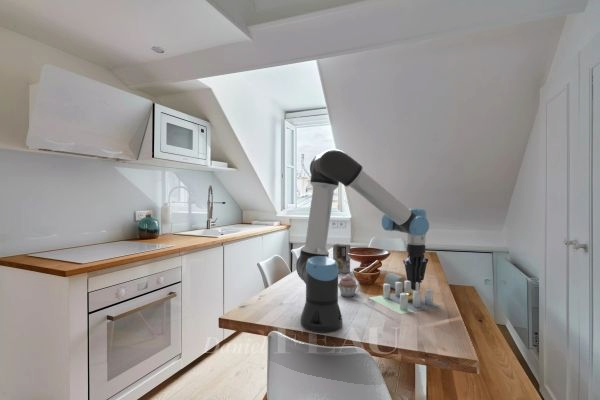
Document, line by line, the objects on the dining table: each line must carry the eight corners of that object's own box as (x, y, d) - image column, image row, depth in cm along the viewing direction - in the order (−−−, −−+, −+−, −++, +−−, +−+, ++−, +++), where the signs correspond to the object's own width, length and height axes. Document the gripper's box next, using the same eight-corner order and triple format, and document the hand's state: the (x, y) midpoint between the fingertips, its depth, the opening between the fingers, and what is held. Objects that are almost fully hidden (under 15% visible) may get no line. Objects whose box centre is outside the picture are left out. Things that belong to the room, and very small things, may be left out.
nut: (409, 303, 127) (409, 295, 127) (401, 299, 132) (401, 292, 132) (418, 301, 130) (418, 294, 129) (409, 297, 134) (409, 291, 134)
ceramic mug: (398, 293, 143) (398, 277, 143) (384, 288, 150) (384, 273, 150) (411, 289, 150) (411, 274, 150) (397, 285, 156) (397, 270, 156)
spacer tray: (400, 316, 116) (400, 298, 115) (368, 299, 134) (368, 284, 134) (440, 308, 125) (441, 291, 125) (405, 293, 143) (405, 279, 143)
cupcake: (342, 290, 146) (342, 270, 146) (360, 294, 141) (360, 273, 141) (334, 296, 138) (334, 274, 138) (353, 300, 133) (353, 277, 133)
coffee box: (350, 271, 183) (350, 245, 183) (346, 273, 178) (346, 246, 178) (336, 269, 188) (337, 243, 188) (332, 271, 183) (332, 245, 182)
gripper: (411, 245, 126) (410, 301, 126) (433, 244, 131) (432, 297, 131) (398, 243, 132) (397, 295, 133) (420, 241, 138) (419, 292, 138)
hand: (415, 296), depth 132 cm, fingers closed
